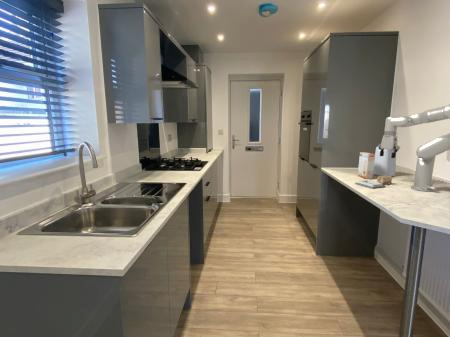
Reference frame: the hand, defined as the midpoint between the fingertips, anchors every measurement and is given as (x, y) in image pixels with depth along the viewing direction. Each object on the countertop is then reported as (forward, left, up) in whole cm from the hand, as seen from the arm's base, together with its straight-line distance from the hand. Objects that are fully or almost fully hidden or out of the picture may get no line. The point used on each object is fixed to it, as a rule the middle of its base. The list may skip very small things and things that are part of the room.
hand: (387, 157), depth 193 cm
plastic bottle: (+25, -28, -21) cm, 43 cm away
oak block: (0, +1, -21) cm, 21 cm away
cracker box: (+23, -5, -21) cm, 31 cm away
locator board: (0, +15, -21) cm, 25 cm away
